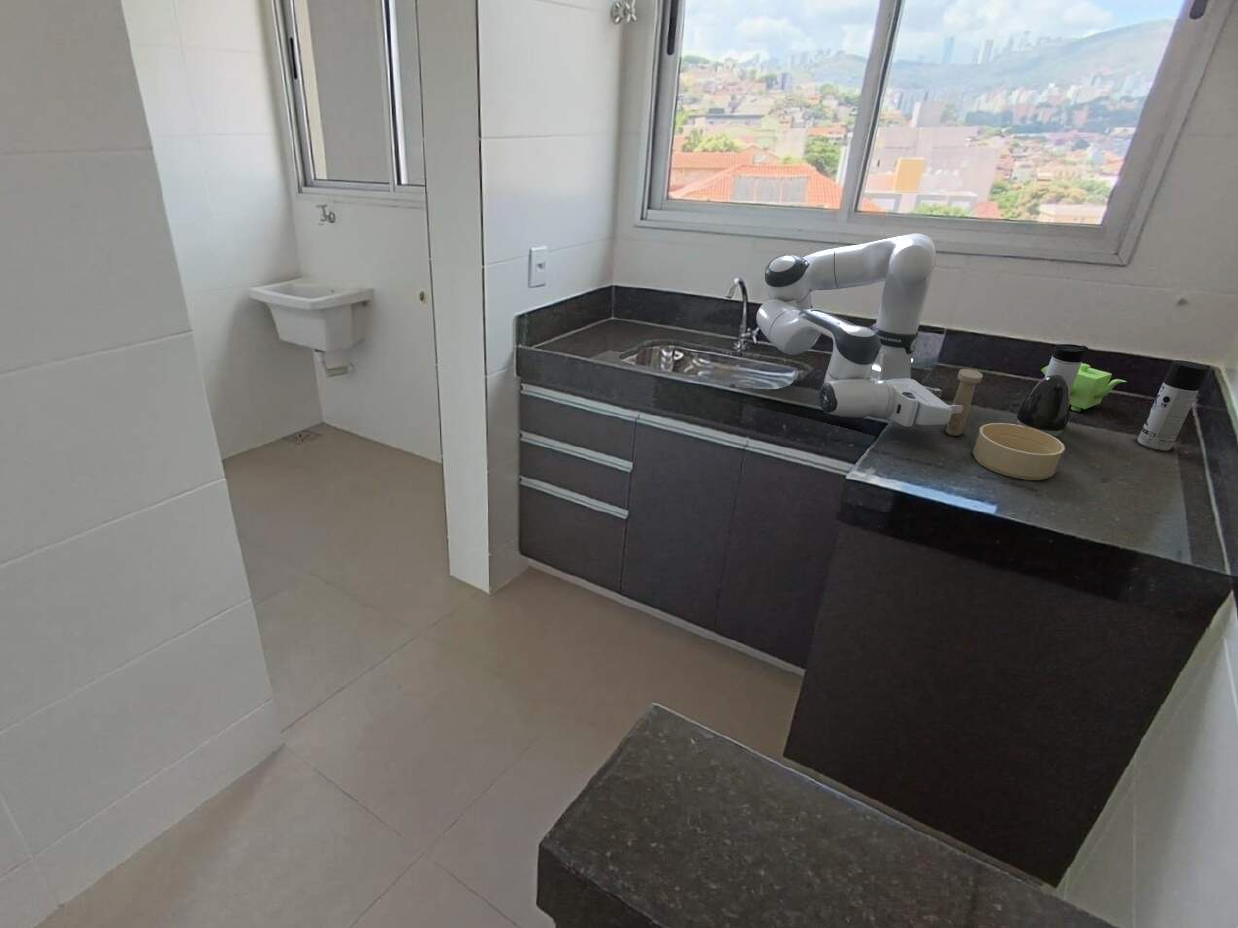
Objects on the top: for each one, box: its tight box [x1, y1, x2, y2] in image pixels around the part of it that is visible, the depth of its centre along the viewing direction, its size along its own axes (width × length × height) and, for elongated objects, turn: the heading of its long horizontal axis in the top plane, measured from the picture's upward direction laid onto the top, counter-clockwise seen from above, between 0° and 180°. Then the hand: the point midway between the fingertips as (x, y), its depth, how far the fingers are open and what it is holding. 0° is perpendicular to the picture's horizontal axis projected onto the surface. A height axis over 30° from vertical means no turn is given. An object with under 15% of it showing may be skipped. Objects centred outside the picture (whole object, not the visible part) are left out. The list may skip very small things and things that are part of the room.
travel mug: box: [1044, 343, 1089, 393], centre depth 164 cm, size 6×7×20 cm
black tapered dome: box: [1016, 375, 1071, 438], centre depth 158 cm, size 10×10×15 cm
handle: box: [945, 368, 984, 437], centre depth 156 cm, size 5×6×15 cm
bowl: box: [972, 422, 1066, 481], centre depth 145 cm, size 16×16×6 cm
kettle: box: [1040, 362, 1127, 412], centre depth 179 cm, size 15×14×11 cm
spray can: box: [1137, 359, 1209, 452], centre depth 155 cm, size 7×7×20 cm
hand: (950, 400), depth 156 cm, fingers open, 8 cm apart
